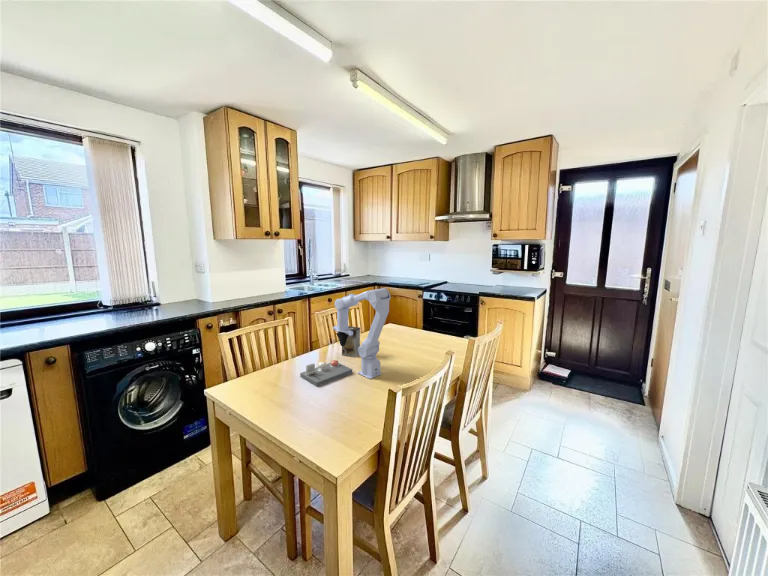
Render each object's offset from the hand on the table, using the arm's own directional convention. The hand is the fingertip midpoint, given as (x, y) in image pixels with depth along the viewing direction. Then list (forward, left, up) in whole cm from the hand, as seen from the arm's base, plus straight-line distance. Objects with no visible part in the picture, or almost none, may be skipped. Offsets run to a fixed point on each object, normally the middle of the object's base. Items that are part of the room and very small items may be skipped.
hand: (342, 345), depth 165 cm
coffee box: (+8, -12, -11) cm, 18 cm away
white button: (-2, +14, -7) cm, 16 cm away
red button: (-2, +7, -8) cm, 11 cm away
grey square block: (-2, +22, -8) cm, 23 cm away
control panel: (-5, +14, -10) cm, 18 cm away
